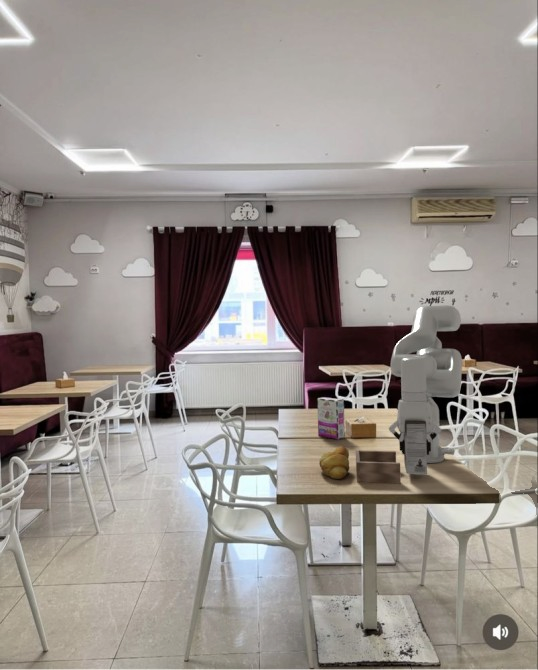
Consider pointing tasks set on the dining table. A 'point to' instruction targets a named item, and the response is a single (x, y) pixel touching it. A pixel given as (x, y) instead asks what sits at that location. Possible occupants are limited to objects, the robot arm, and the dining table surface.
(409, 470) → the coffee box
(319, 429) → the candy bar box
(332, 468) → the bread roll
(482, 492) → the dining table surface
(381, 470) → the open side box
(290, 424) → the dining table surface
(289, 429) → the dining table surface
